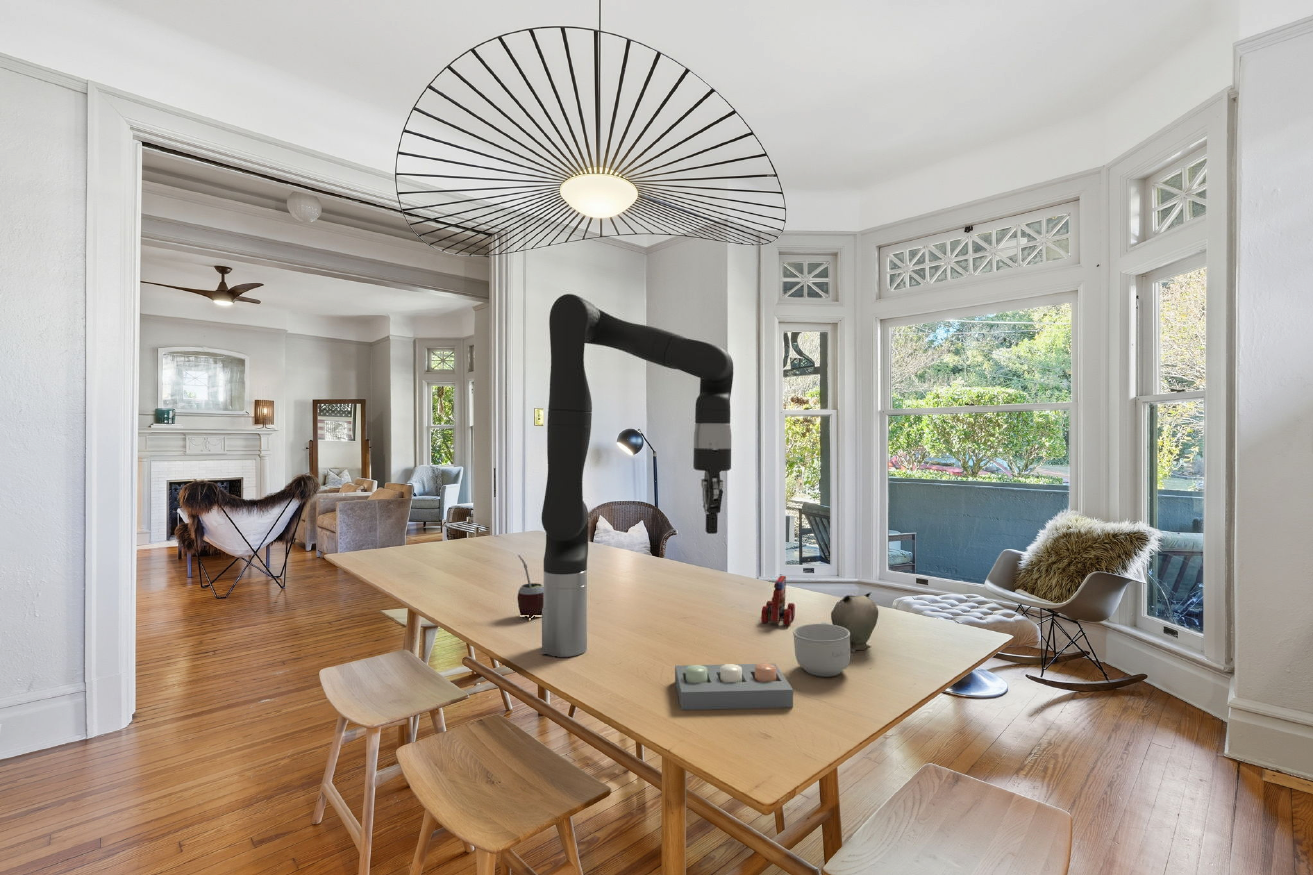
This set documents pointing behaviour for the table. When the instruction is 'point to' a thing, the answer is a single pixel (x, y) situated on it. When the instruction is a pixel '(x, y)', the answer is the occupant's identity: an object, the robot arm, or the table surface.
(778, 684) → the console
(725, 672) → the cream button
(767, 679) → the terracotta button
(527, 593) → the mate gourd
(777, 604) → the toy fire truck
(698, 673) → the sage button
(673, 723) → the table surface
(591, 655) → the table surface
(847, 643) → the teacup
